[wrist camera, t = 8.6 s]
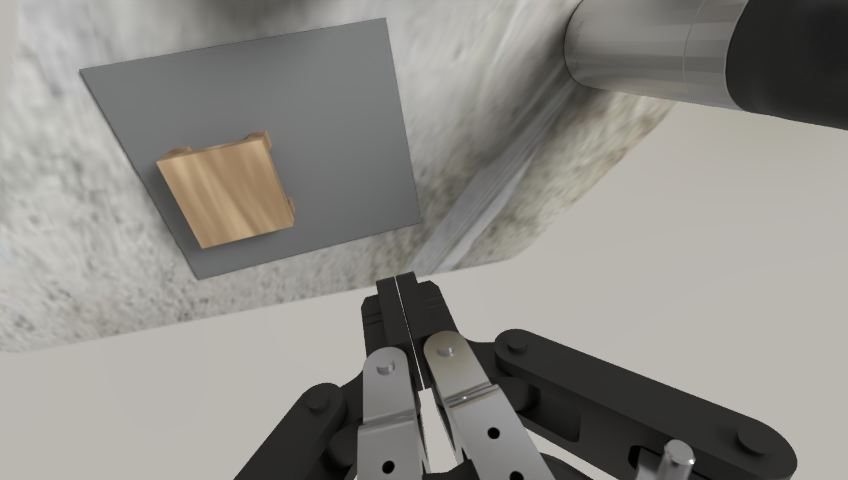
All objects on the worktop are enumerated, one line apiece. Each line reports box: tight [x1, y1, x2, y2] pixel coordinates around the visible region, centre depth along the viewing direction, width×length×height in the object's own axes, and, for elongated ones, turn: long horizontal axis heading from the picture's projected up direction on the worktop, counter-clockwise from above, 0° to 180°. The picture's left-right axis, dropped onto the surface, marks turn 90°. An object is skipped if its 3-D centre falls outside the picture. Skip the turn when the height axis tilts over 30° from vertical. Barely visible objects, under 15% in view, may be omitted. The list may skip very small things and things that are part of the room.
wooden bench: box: [156, 130, 295, 249], centre depth 33 cm, size 4×8×8 cm
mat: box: [79, 18, 421, 280], centre depth 35 cm, size 24×20×1 cm
